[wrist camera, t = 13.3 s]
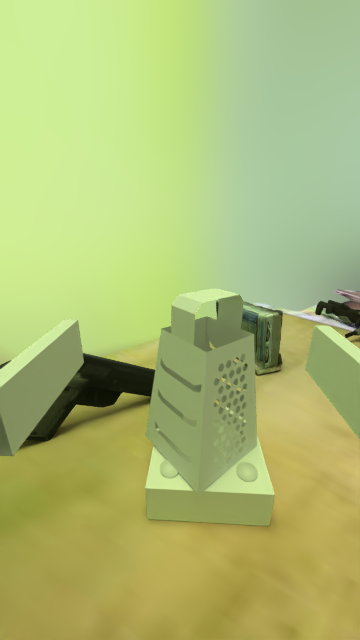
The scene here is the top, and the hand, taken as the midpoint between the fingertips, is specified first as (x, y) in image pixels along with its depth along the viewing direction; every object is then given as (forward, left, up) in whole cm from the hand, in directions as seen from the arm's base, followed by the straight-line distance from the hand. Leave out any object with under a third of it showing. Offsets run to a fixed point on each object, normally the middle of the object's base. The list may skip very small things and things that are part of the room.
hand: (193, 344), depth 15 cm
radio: (+12, +50, -26) cm, 57 cm away
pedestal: (+2, +14, -26) cm, 29 cm away
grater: (+1, +14, -21) cm, 25 cm away
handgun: (-16, +24, -26) cm, 39 cm away
